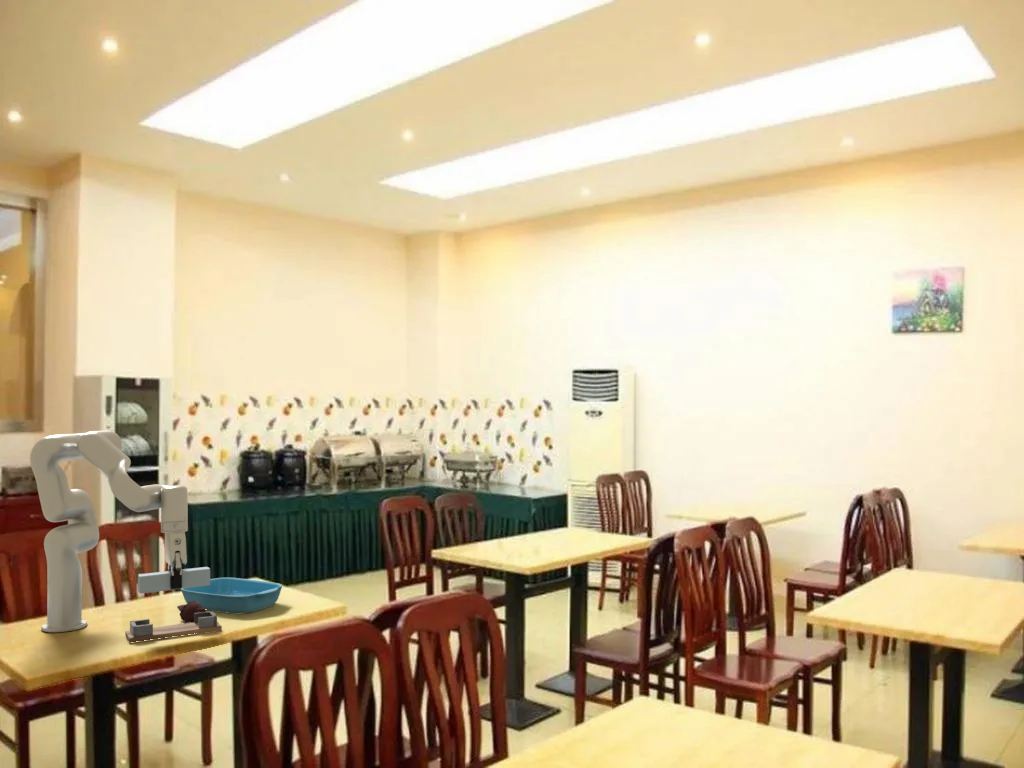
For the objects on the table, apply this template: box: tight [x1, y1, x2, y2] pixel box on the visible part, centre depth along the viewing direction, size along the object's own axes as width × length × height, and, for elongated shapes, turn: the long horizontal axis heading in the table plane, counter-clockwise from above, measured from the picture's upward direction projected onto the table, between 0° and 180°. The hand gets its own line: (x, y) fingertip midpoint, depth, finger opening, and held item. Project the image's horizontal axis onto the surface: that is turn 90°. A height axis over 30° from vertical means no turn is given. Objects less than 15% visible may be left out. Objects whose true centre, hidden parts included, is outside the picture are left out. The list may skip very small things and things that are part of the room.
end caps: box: [129, 610, 218, 637], centre depth 259 cm, size 8×24×3 cm, turn 121°
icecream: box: [177, 601, 207, 623], centre depth 272 cm, size 7×7×15 cm
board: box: [124, 621, 223, 644], centre depth 259 cm, size 9×26×2 cm, turn 121°
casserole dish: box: [180, 577, 283, 614], centre depth 294 cm, size 37×22×7 cm, turn 62°
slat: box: [137, 566, 211, 595], centre depth 259 cm, size 4×20×5 cm, turn 121°
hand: (174, 586), depth 259 cm, fingers closed on slat, 4 cm apart
